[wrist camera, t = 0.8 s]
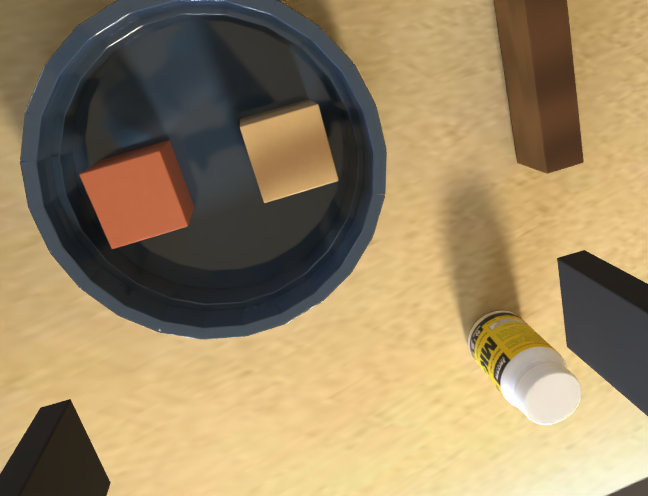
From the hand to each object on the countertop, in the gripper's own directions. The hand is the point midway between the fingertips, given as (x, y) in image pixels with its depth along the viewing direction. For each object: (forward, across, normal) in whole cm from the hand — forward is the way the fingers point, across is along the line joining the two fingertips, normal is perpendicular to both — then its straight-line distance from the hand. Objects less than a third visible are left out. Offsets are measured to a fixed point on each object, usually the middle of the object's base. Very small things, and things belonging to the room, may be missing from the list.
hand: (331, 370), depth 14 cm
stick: (+24, +18, +3) cm, 30 cm away
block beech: (+23, +1, +3) cm, 23 cm away
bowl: (+23, -3, +3) cm, 24 cm away
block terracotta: (+23, -8, +3) cm, 24 cm away
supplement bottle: (+24, +13, -16) cm, 31 cm away
